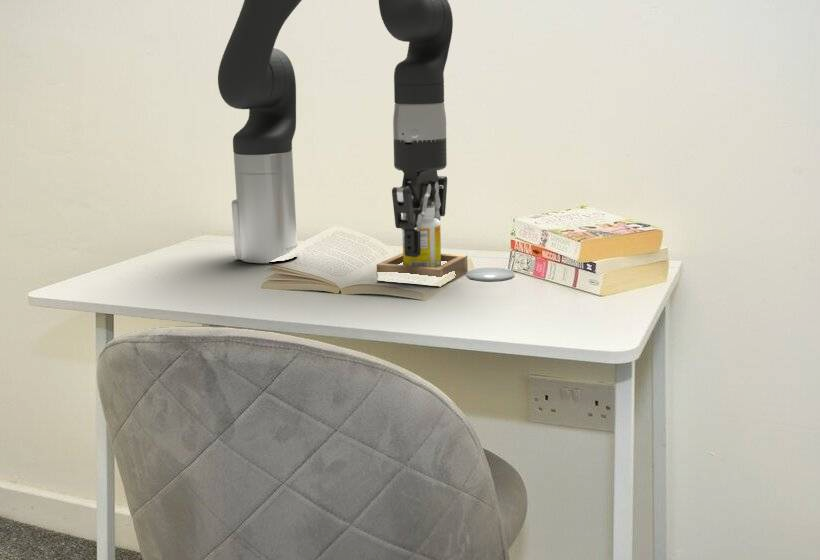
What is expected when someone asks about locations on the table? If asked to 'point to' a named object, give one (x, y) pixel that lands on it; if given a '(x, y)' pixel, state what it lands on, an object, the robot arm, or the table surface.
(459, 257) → the box frame
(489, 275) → the coaster
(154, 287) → the table surface
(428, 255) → the supplement bottle
